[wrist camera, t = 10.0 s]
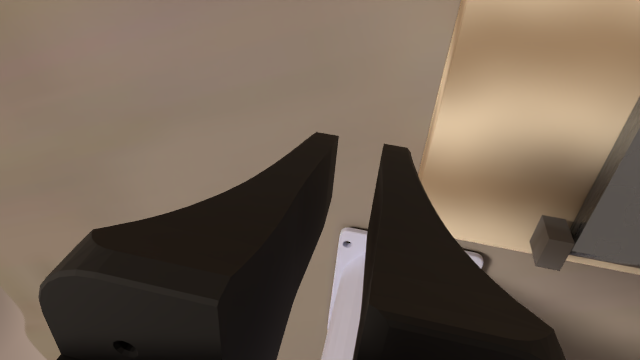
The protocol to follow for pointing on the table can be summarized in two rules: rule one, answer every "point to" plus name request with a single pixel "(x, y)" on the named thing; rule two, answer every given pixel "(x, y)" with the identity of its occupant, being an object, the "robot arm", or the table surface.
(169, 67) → the table surface
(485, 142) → the board
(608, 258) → the gray rectangular block
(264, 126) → the table surface
